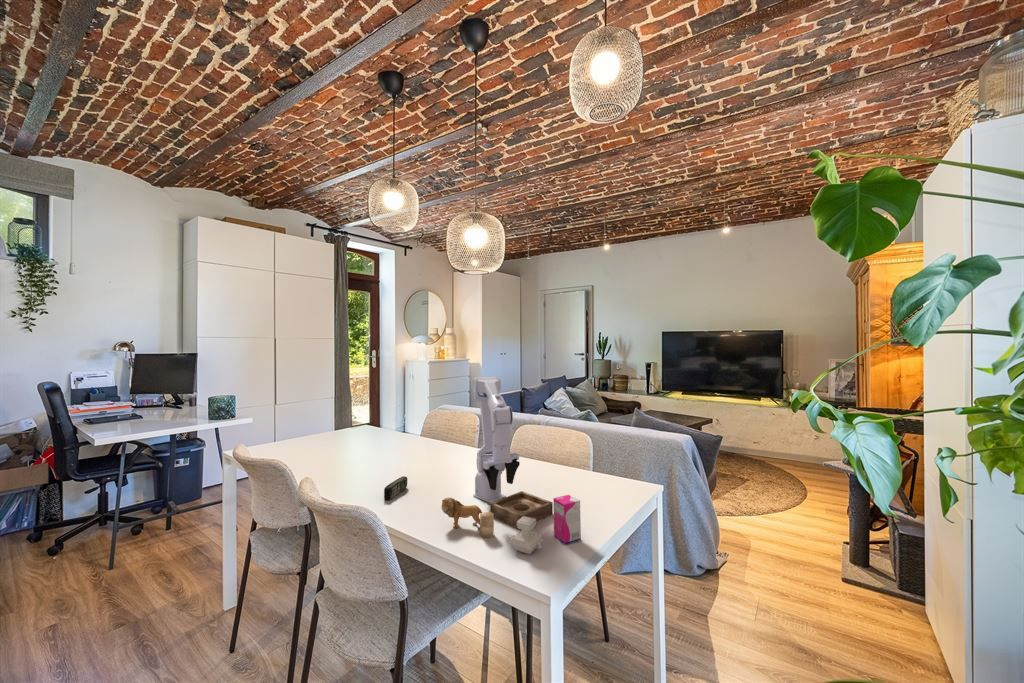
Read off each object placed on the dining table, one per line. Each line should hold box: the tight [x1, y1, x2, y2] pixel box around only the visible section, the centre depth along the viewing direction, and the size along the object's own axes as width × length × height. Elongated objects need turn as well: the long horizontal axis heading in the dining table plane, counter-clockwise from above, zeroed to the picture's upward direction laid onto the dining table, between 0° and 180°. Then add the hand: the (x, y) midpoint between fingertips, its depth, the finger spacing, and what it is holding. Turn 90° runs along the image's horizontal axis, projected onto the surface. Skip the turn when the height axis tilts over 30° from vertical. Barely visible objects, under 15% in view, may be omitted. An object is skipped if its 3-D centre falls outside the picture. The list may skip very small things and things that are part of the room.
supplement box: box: [552, 494, 582, 545], centre depth 119 cm, size 6×6×12 cm
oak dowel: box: [479, 511, 495, 539], centre depth 121 cm, size 4×4×6 cm
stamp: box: [509, 516, 543, 555], centre depth 112 cm, size 9×7×8 cm
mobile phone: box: [383, 476, 408, 501], centre depth 153 cm, size 5×3×15 cm
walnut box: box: [489, 491, 554, 531], centre depth 134 cm, size 14×15×4 cm
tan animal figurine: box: [441, 497, 483, 531], centre depth 126 cm, size 15×5×9 cm, turn 90°
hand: (501, 486), depth 133 cm, fingers open, 7 cm apart
